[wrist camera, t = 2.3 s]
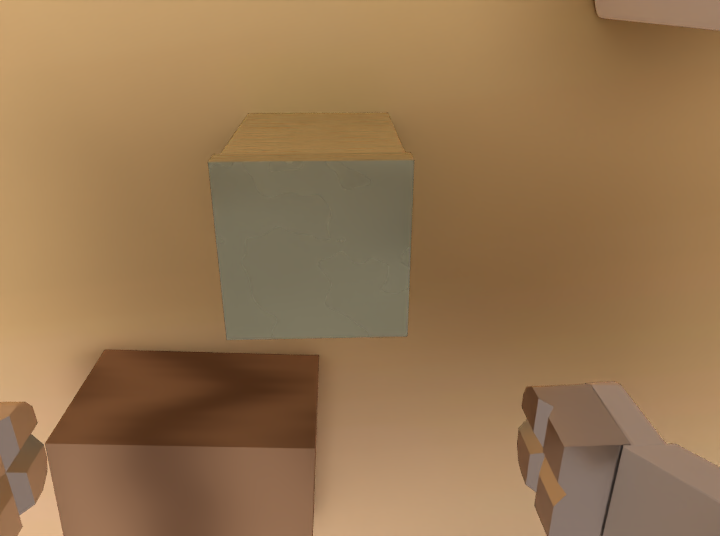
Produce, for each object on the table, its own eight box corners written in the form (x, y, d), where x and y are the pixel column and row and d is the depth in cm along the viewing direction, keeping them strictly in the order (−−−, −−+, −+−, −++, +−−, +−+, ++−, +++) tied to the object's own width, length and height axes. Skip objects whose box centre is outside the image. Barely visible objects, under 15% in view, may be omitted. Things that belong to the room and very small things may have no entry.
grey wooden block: (390, 109, 22) (414, 160, 15) (387, 243, 24) (407, 336, 18) (245, 110, 22) (207, 161, 15) (255, 244, 24) (226, 339, 17)
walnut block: (319, 353, 26) (315, 449, 21) (313, 507, 30) (309, 623, 24) (106, 347, 26) (44, 443, 20) (128, 505, 29) (81, 622, 24)
